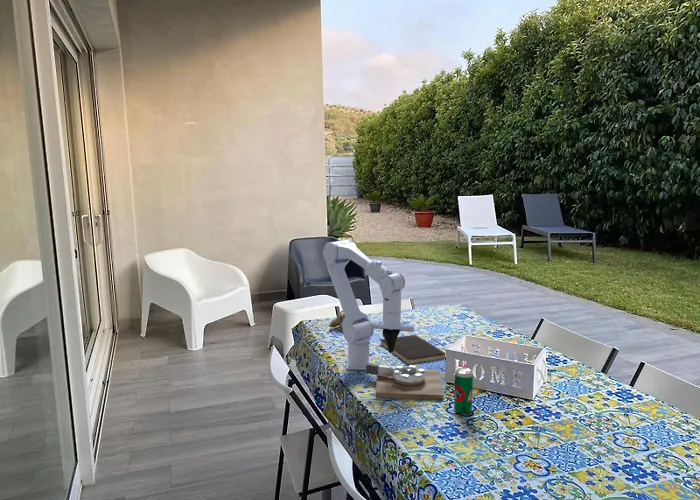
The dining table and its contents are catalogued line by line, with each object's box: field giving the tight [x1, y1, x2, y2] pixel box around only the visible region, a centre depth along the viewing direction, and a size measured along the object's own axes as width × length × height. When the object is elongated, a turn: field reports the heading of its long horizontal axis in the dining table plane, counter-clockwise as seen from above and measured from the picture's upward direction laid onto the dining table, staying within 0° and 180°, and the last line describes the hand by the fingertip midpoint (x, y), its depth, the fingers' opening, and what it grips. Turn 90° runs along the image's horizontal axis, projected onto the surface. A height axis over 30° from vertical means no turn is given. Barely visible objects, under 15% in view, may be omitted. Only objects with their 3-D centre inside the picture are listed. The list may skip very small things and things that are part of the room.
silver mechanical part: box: [365, 362, 425, 386], centre depth 179 cm, size 19×10×4 cm, turn 68°
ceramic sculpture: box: [328, 310, 356, 329], centre depth 237 cm, size 11×9×15 cm
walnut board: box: [375, 368, 444, 401], centre depth 177 cm, size 20×20×2 cm
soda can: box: [453, 367, 474, 415], centre depth 158 cm, size 5×5×12 cm
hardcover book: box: [379, 334, 446, 365], centre depth 209 cm, size 16×23×2 cm
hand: (391, 351), depth 182 cm, fingers closed
